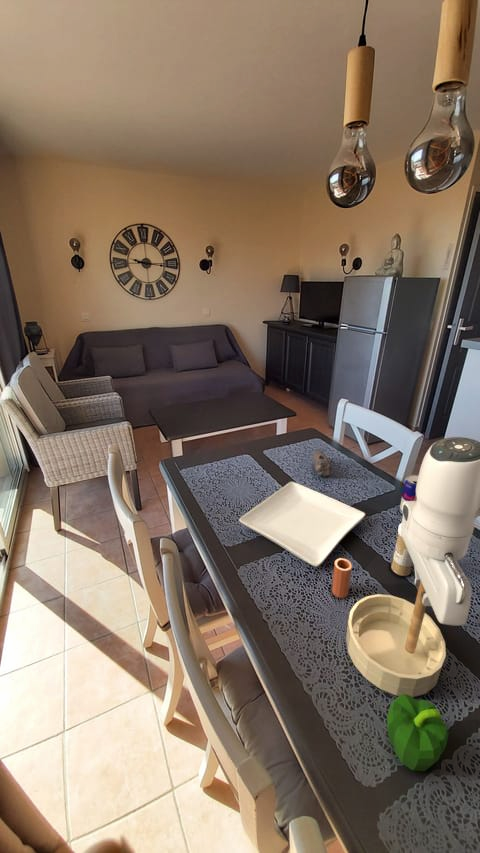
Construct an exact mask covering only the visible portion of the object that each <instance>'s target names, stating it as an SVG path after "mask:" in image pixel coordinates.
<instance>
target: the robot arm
mask: <svg viewBox="0 0 480 853" xmlns="http://www.w3.org/2000/svg"><path fill="white" fill-rule="evenodd" d="M417 476H418V480H417V485H416V497H417V499H416V501H404V502H403V504H402V512H403V514H402V517H401V523H402V526H401V533H402V538H403V541H404V543H405V545H406V547H407V550H408V552H409V554H410V557H411V559H412V561H413V562H412V565H413V568H414V576H415V578H414V582H413V583H414V585H415V588H416V590H417V591H418V589H419V585H420V580H421V582H422V585H423V587H424V589H425V592H421V596H420V598H421V600H422V603H423V605H424V606H426V607H431V608H432V610H433V612H434V615H435V617H436V620H437V622H438V623H439V624H442V625H446V626H458V627H459V626H464V625H466V624H467V622H468V619H469V618H468V617H469V613H470V608H471V602H472V588H471V584H470V581H469V580H468V578H467V576H466V574H465V572H464V570H463V569H462V567H461V566H460V564H459V562H458V561H459V560H461V559H464V558H465V556H466V555H467V554H468V551H469V547H470V544H471V540H472V537H473V533H474V530H475V525H476V524H475V521H476V519H477V518H478V517H480V441H478V440H476V439H473V438H469V437H463V436H451V437H445V438H442V439H441V438H440V439H438V440H436V441H435V442H433V443H432V444H431V445H430V447H429V448H428V449H427V451H426V453H425V454H424V457H423V459H422V462H421V464H420V467H419V472H418V474H417Z"/></svg>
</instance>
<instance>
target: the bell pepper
mask: <svg viewBox="0 0 480 853" xmlns="http://www.w3.org/2000/svg"><path fill="white" fill-rule="evenodd" d="M386 726H387V733H388V740H389V744H390V745H391V746H392V747H393V748H394V752H395V755H396V757H397V758H398V759H399V761H400V763H401V764H402V765H403V766H405V767H406V768H408V769H409V770H411V771H415V772H425V771H427V770H428V769H429V768H431V767H432V766H433V765H434V764H436V763H437V762H438V761H439V760H440V757H441V755H442V754H443V753H444V752H445V749H446V747H447V743H448V740H449V738H448V737H449V735H450V734H449V730H448V728H447V726H446V724H445V722H444V720H443V718H442V716H441V713H440V710H439V709H437V707H436V706H435V704H433V703H431V702H429V701H427V700H425V699H420V700H418V701H417V700H416V699H415V698H414V697H411V696H410V695H407V694H401V695H400V696H397V697H396V698H395V699H394V700H392V702H390V706H389V708H388V712H387V716H386Z"/></svg>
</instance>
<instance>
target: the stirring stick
mask: <svg viewBox="0 0 480 853" xmlns="http://www.w3.org/2000/svg"><path fill="white" fill-rule="evenodd" d="M421 592H425V589H424V587H423V585H422V582H421V580H420V585H419V589H418V590H417V593H416V597H415V603H414V605H415V606H414V611H413V615H412V619H411V624H410V628H409V632H408V637H407V641H406V645H405V649H406V651H407V652H409V653H411V654H412V653H415V650H416V646H417V642H418V638H419V634H420V630H421V626H422V622H423V618H424V614H425V613H426V609H427V606H424V605H423V603H422V600H421V598H420V596H421Z"/></svg>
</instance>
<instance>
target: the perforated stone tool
mask: <svg viewBox="0 0 480 853" xmlns="http://www.w3.org/2000/svg"><path fill="white" fill-rule="evenodd" d="M311 461H312V464H313V467H314V470H315V472H316V474H317V475H318V476H319V477H326V478H327V477H330V476H331V475H332V466H331V462H330V460H329V458H328V457H327V455H326V454H325V453H324V452H323V451H322V450H319V449H316V450H314V452H313V453H312V460H311Z"/></svg>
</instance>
